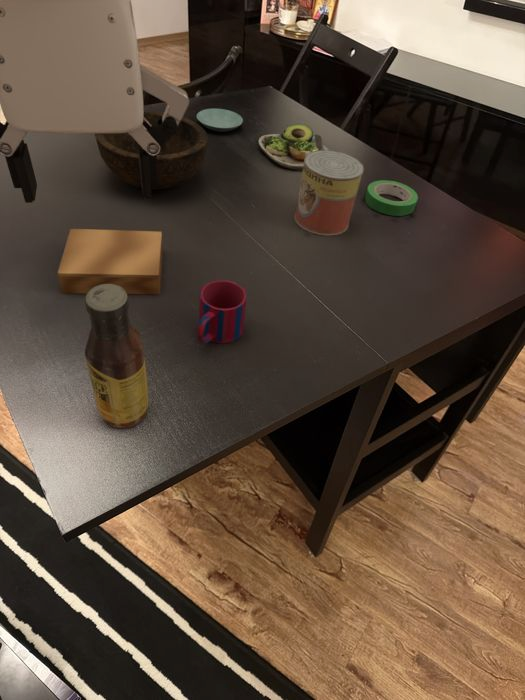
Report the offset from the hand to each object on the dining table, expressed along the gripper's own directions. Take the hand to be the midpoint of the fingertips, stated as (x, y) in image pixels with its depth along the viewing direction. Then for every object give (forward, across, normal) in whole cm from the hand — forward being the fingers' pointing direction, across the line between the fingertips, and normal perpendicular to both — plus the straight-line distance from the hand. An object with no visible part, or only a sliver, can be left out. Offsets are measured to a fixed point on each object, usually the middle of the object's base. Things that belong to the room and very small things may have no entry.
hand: (90, 193), depth 42 cm
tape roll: (+29, -59, -45) cm, 79 cm away
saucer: (+29, -28, -84) cm, 93 cm away
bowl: (+29, -9, -56) cm, 64 cm away
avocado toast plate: (+29, -44, -69) cm, 87 cm away
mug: (+29, -14, -9) cm, 34 cm away
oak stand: (+29, 0, -26) cm, 39 cm away
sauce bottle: (+29, 0, +3) cm, 29 cm away
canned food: (+29, -41, -39) cm, 64 cm away
